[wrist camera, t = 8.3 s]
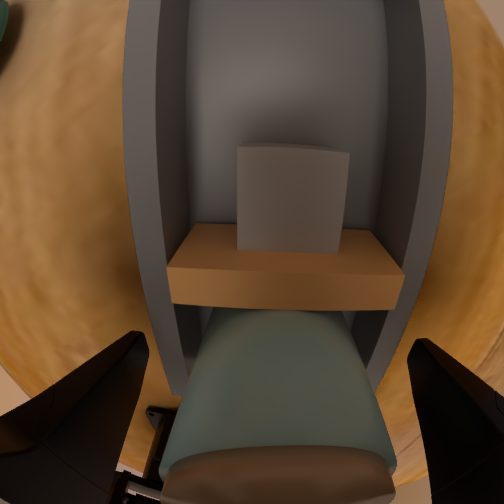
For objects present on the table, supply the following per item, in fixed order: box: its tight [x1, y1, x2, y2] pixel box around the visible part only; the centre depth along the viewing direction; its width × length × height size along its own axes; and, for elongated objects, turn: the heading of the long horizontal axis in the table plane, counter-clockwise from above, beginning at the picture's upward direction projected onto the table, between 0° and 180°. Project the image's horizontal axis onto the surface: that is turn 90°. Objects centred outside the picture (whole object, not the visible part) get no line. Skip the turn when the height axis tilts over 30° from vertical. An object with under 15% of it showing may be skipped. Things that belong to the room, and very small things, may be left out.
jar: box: [159, 307, 397, 504], centre depth 8 cm, size 6×6×8 cm
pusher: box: [166, 142, 405, 311], centre depth 8 cm, size 4×7×3 cm, turn 89°
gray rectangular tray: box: [123, 0, 453, 396], centre depth 9 cm, size 18×9×4 cm, turn 179°
